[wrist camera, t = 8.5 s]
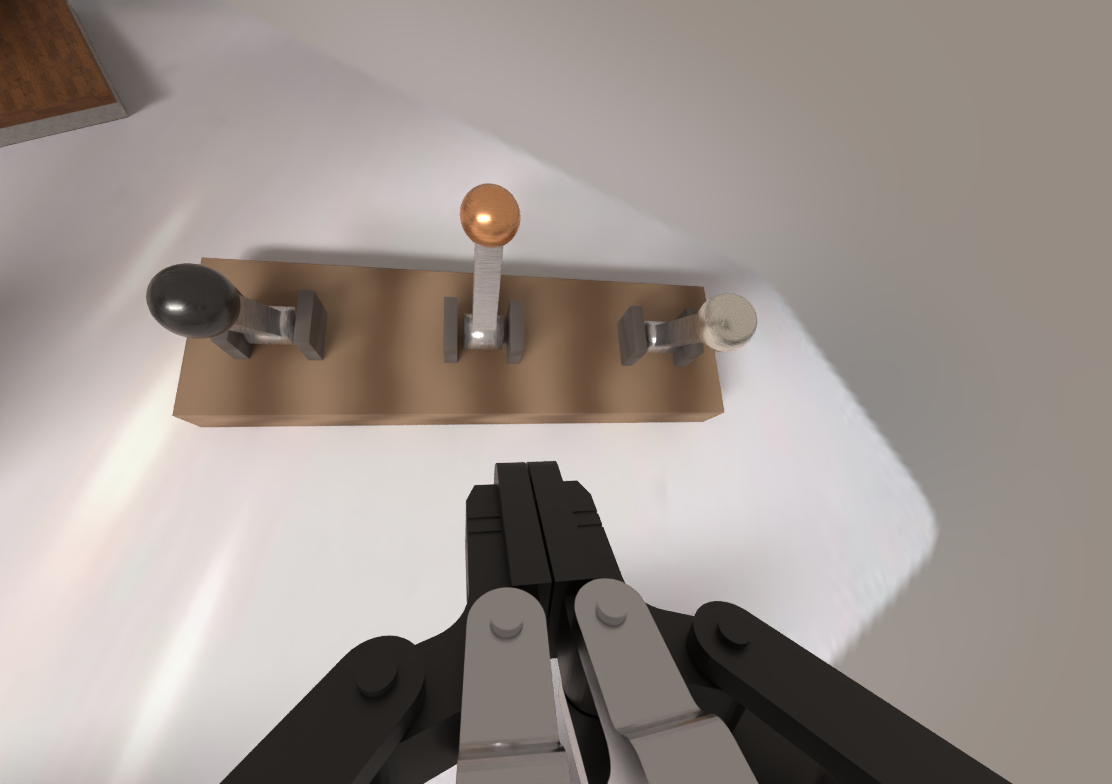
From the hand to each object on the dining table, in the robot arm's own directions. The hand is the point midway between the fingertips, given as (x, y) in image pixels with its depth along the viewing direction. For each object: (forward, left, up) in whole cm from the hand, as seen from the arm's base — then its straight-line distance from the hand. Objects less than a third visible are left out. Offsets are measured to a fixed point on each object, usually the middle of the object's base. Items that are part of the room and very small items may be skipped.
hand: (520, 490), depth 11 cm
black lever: (-16, +4, -16) cm, 23 cm away
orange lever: (-5, +9, -16) cm, 20 cm away
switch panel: (-6, +10, -20) cm, 23 cm away
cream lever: (+5, +16, -16) cm, 23 cm away
